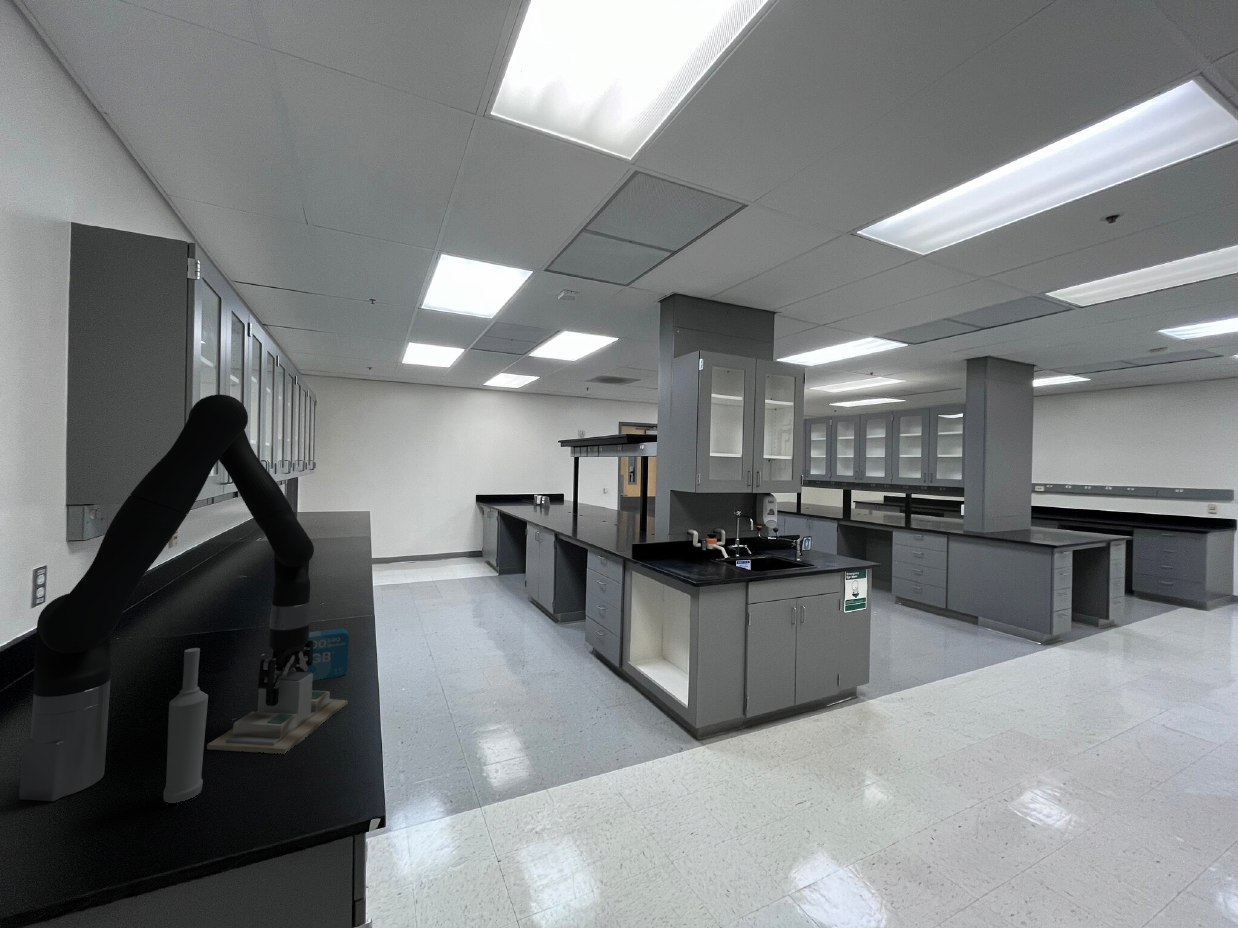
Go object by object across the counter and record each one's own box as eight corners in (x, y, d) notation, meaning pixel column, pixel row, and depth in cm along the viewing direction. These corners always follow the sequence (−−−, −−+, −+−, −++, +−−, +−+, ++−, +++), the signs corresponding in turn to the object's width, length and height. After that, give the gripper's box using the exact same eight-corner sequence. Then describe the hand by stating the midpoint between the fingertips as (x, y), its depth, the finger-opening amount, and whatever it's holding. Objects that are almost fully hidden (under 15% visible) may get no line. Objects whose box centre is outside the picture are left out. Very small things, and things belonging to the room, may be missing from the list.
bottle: (210, 786, 89) (218, 645, 90) (186, 806, 84) (195, 655, 85) (180, 786, 89) (189, 644, 90) (154, 805, 84) (163, 654, 85)
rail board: (284, 753, 100) (286, 732, 100) (207, 749, 101) (208, 727, 101) (347, 704, 122) (348, 686, 122) (283, 700, 123) (284, 682, 123)
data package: (295, 683, 133) (298, 638, 133) (295, 677, 136) (298, 633, 137) (347, 675, 139) (349, 631, 140) (345, 669, 143) (348, 627, 143)
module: (297, 723, 109) (299, 680, 110) (256, 721, 110) (259, 678, 110) (310, 713, 114) (313, 672, 114) (271, 711, 114) (274, 670, 114)
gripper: (284, 633, 105) (279, 712, 105) (326, 615, 119) (322, 684, 119) (249, 632, 105) (244, 710, 105) (295, 613, 119) (291, 682, 119)
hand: (285, 696), depth 112 cm, fingers open, 8 cm apart
